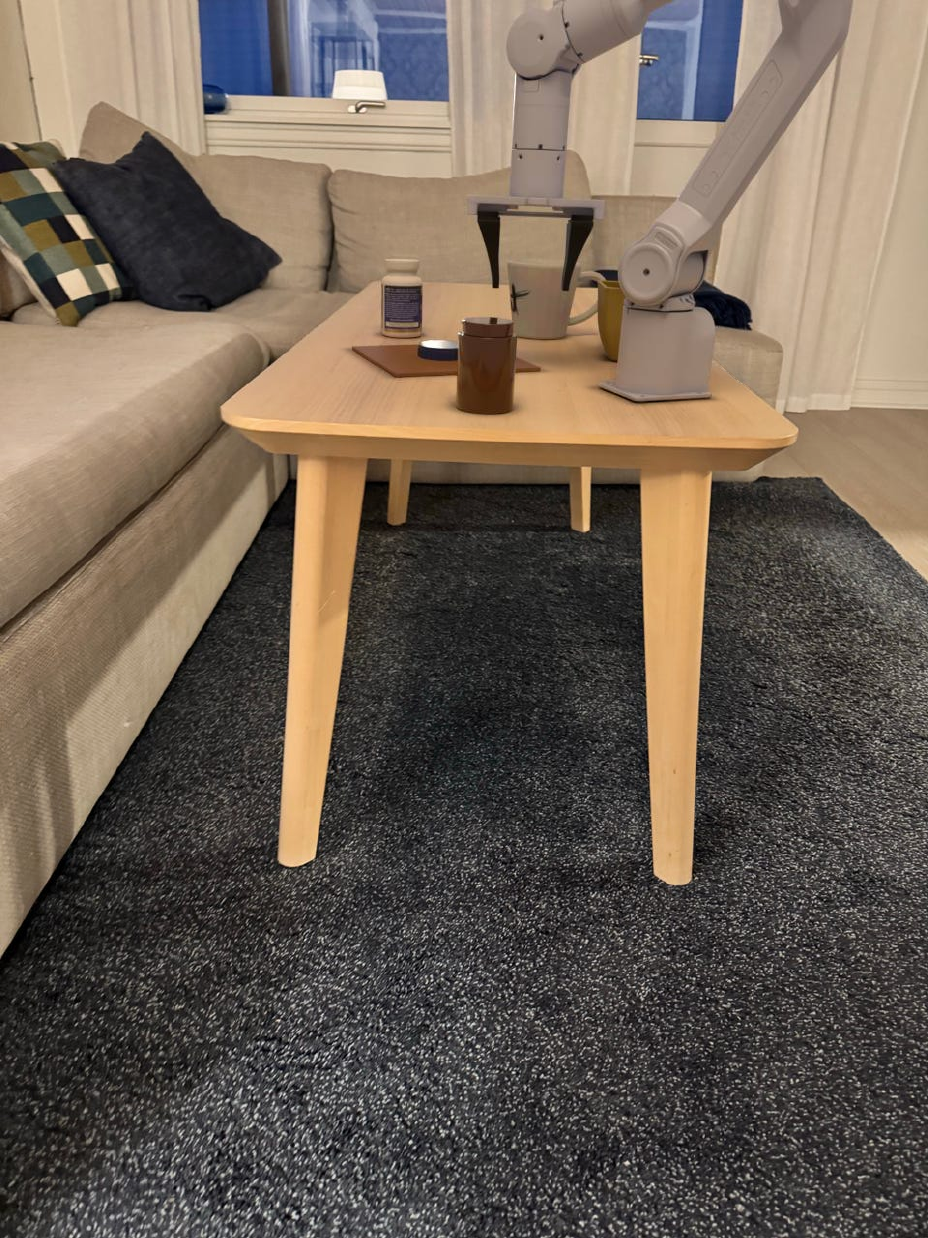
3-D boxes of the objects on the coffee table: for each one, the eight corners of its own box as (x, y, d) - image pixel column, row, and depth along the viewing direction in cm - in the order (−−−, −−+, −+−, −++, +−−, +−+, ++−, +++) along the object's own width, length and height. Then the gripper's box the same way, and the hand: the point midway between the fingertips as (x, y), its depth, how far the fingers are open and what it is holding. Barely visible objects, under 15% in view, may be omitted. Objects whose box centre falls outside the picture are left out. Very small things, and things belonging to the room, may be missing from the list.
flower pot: (656, 354, 120) (666, 282, 116) (668, 366, 113) (678, 289, 109) (590, 351, 120) (597, 279, 117) (597, 363, 113) (604, 286, 109)
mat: (481, 345, 122) (481, 342, 122) (540, 370, 107) (540, 367, 107) (351, 349, 116) (351, 346, 116) (395, 377, 101) (395, 373, 101)
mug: (498, 329, 136) (501, 257, 131) (595, 331, 137) (602, 260, 133) (509, 340, 126) (513, 263, 122) (613, 342, 128) (621, 266, 124)
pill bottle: (429, 337, 127) (431, 260, 123) (394, 339, 124) (394, 261, 120) (408, 331, 131) (409, 257, 127) (373, 333, 128) (373, 257, 124)
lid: (437, 350, 115) (437, 338, 114) (477, 356, 112) (477, 344, 111) (407, 356, 111) (407, 343, 110) (448, 362, 107) (448, 350, 107)
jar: (498, 399, 92) (503, 315, 89) (522, 412, 88) (528, 324, 84) (447, 402, 90) (449, 316, 87) (469, 415, 86) (472, 325, 82)
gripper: (468, 146, 91) (464, 290, 97) (613, 152, 91) (599, 295, 97) (469, 148, 97) (465, 283, 103) (605, 153, 97) (592, 288, 103)
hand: (530, 288), depth 100 cm, fingers open, 7 cm apart
